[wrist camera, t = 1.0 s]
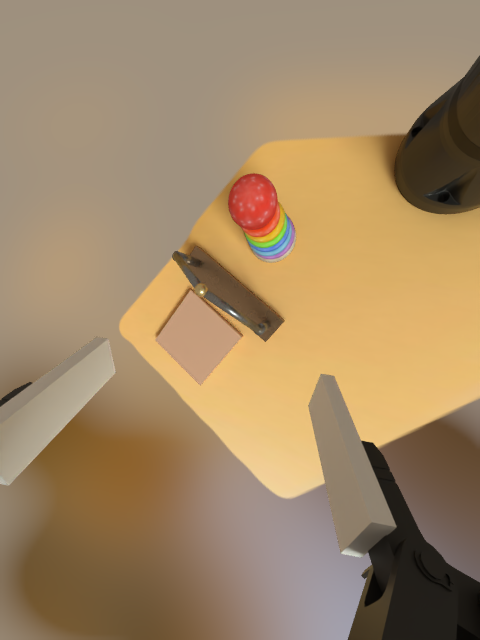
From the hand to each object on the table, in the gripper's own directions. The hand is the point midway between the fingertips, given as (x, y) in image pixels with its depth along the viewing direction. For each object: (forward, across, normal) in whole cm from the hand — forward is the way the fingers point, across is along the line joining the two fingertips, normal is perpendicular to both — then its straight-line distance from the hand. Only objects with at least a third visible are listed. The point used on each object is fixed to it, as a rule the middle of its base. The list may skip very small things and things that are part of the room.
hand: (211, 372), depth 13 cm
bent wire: (+28, -2, -5) cm, 28 cm away
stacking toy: (+30, +4, +5) cm, 31 cm away
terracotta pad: (+26, -8, -15) cm, 31 cm away
